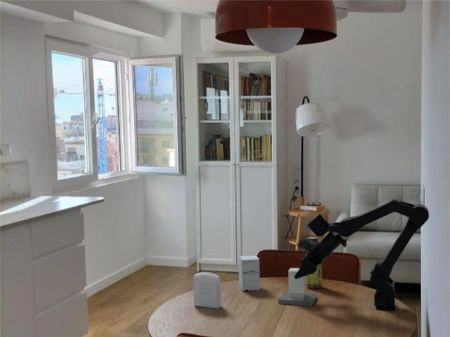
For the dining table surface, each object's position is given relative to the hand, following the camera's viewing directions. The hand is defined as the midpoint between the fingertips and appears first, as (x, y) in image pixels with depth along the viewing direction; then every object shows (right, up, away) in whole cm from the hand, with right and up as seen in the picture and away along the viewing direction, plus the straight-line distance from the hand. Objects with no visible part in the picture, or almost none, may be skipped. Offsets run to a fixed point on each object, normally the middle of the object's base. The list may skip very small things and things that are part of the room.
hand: (297, 274), depth 195 cm
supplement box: (-17, -9, +18) cm, 26 cm away
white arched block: (-33, -11, -2) cm, 35 cm away
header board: (0, -10, +1) cm, 10 cm away
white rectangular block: (0, -8, +1) cm, 8 cm away
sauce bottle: (+9, -8, +17) cm, 21 cm away
